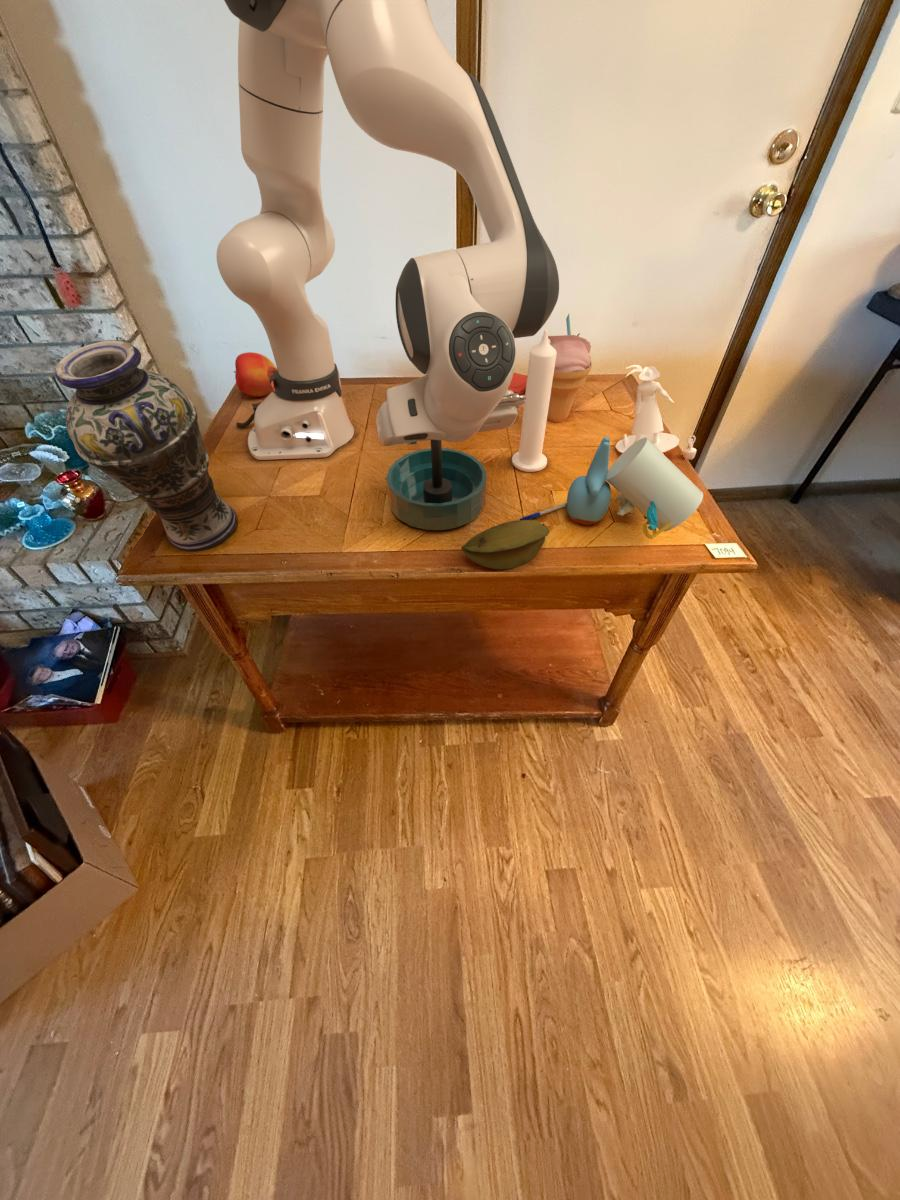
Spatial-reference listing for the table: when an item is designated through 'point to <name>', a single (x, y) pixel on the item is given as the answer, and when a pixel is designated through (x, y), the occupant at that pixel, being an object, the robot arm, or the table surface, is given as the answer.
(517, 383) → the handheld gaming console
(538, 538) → the fruit
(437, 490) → the dark post on base
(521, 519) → the ballpoint pen
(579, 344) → the ice cream cone
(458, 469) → the bowl
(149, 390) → the vase
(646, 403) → the figurine
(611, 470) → the pale green cylinder
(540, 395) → the candle
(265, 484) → the table surface
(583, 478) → the toy
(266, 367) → the apple
